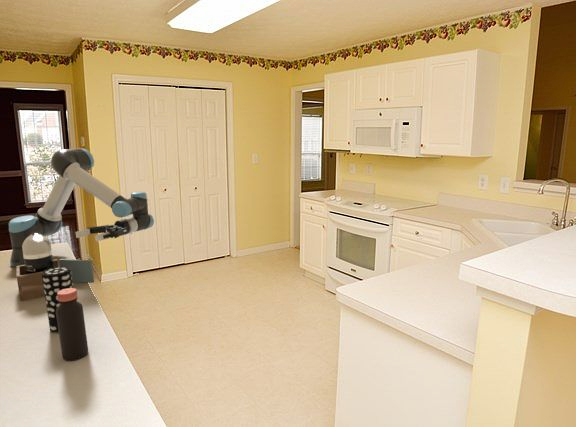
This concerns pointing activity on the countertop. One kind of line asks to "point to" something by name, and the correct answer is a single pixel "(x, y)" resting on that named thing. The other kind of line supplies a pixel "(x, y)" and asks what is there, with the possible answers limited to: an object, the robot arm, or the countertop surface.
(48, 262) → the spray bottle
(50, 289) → the spotted tube
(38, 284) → the bay
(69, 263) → the bay door
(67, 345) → the vinegar
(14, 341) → the countertop surface
